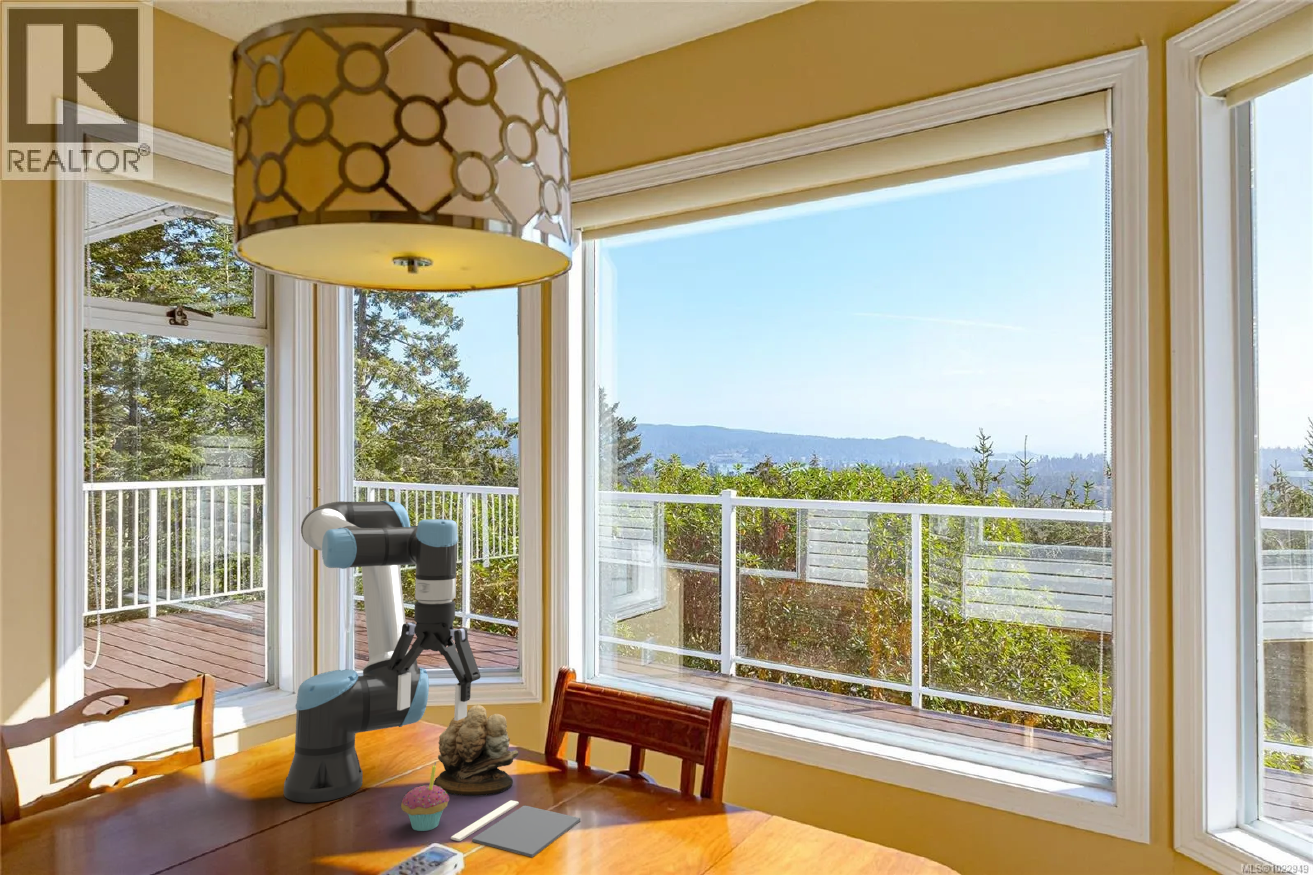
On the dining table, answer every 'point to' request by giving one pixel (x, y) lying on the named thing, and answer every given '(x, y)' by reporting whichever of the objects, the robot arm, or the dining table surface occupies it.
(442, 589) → the robot arm
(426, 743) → the dining table surface
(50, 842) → the dining table surface
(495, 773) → the owl figurine
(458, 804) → the dining table surface
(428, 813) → the cupcake
